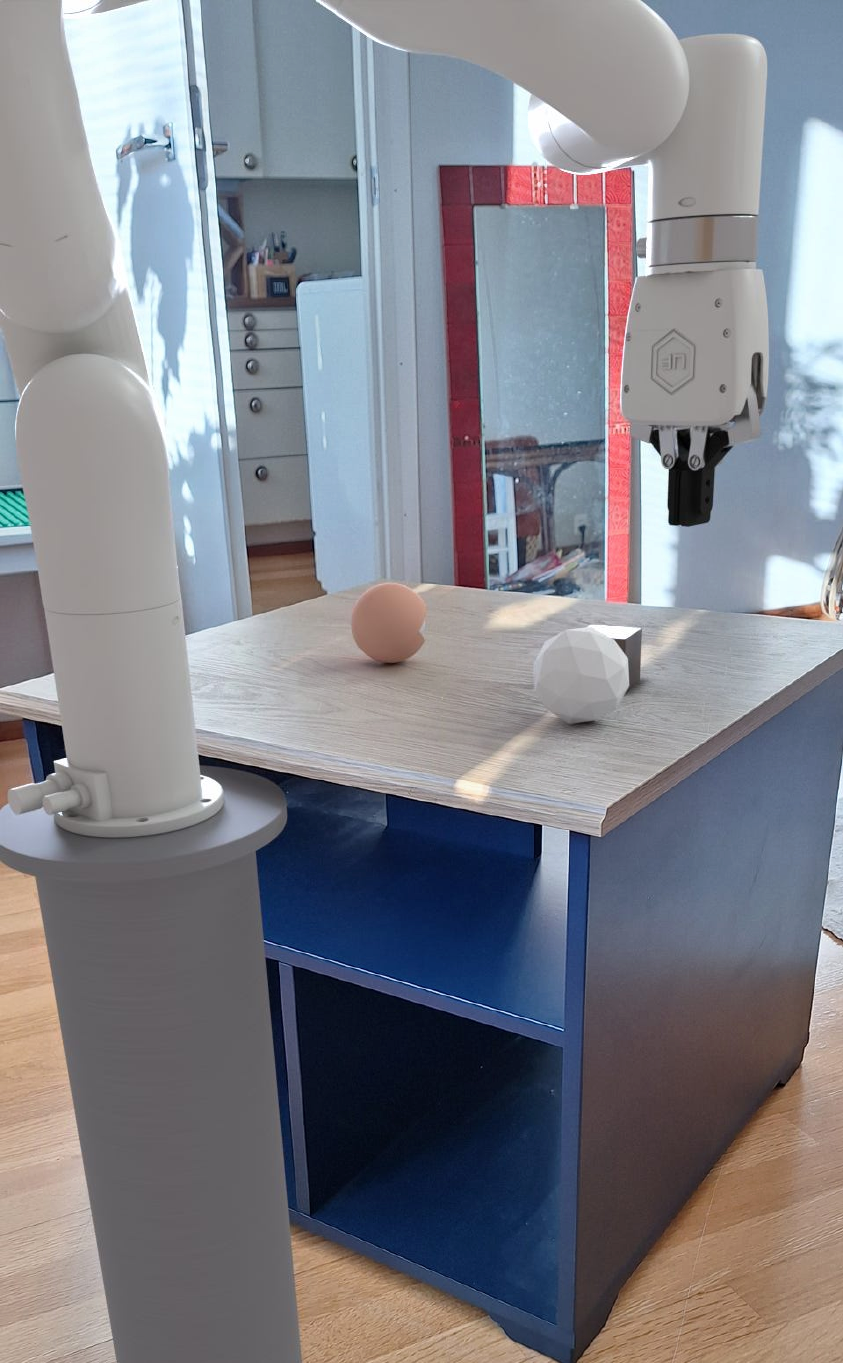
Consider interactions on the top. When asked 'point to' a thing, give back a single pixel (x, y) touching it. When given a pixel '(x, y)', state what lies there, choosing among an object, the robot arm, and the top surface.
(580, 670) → the white faceted ball
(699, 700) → the top surface
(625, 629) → the walnut block
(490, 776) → the top surface
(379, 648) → the toy ball
